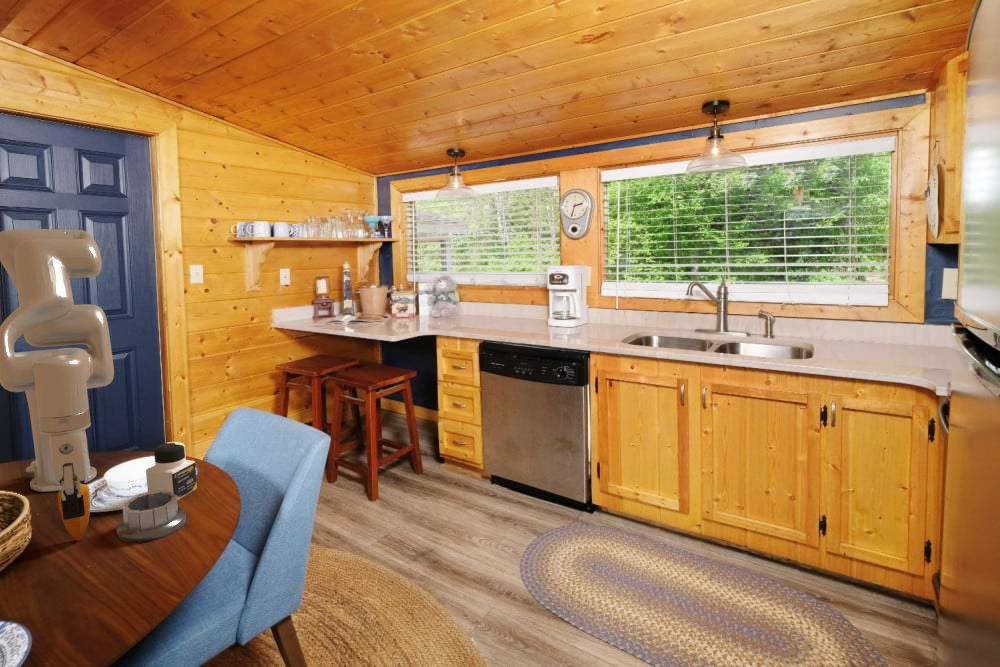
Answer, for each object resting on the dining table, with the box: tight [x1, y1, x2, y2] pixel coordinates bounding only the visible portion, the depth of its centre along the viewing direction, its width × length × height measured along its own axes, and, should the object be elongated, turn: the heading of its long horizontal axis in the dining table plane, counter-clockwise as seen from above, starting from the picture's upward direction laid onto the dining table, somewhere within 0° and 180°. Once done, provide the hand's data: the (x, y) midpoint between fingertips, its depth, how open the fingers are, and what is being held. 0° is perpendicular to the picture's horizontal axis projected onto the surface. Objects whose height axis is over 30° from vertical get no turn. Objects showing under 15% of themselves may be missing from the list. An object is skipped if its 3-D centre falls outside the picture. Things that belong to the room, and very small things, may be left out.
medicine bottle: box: [145, 441, 198, 501], centre depth 126 cm, size 7×7×12 cm
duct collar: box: [116, 491, 187, 543], centre depth 112 cm, size 12×12×6 cm
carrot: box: [57, 469, 91, 542], centre depth 106 cm, size 5×5×15 cm
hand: (75, 508), depth 106 cm, fingers open, 7 cm apart
